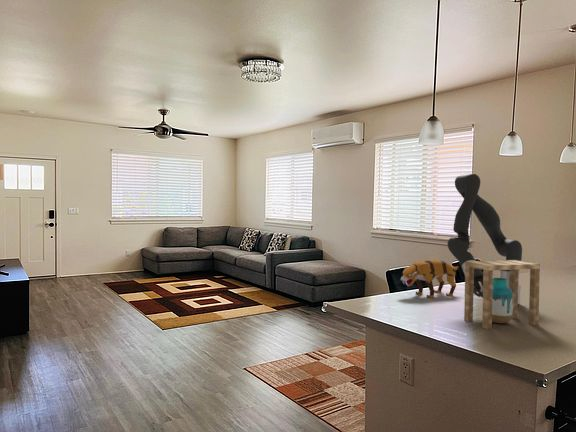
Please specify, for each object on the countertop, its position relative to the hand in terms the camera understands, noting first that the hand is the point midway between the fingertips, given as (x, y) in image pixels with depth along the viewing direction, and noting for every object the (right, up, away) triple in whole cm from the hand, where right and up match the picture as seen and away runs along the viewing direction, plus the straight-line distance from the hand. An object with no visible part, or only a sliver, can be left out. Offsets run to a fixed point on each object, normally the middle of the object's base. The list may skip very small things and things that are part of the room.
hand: (490, 303), depth 193 cm
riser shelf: (+2, -7, -5) cm, 9 cm away
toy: (-9, -6, +52) cm, 53 cm away
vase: (+1, -7, -5) cm, 9 cm away
